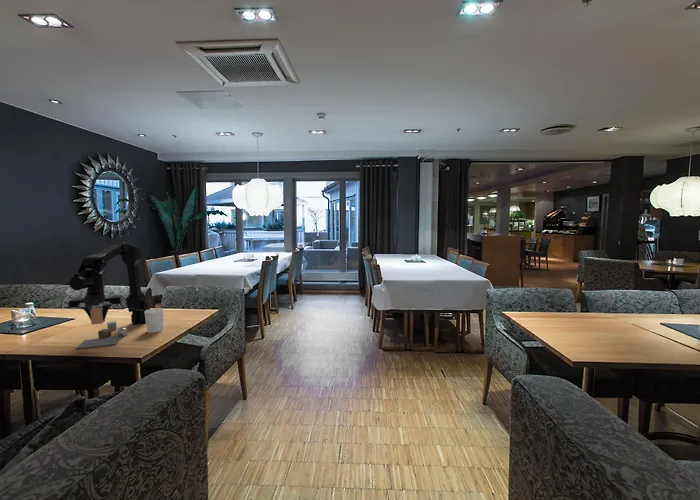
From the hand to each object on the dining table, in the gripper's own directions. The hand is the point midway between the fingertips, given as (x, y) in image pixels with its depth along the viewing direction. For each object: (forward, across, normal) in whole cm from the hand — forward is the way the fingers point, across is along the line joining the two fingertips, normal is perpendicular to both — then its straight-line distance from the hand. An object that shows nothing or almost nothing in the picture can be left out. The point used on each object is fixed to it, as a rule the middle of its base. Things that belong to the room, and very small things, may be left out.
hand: (98, 320), depth 152 cm
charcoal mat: (+10, 0, 0) cm, 10 cm away
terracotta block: (+1, 0, 0) cm, 1 cm away
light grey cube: (+10, +7, +7) cm, 14 cm away
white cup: (+10, +20, +10) cm, 25 cm away
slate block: (+10, 0, +20) cm, 22 cm away
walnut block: (+10, 0, +8) cm, 13 cm away
